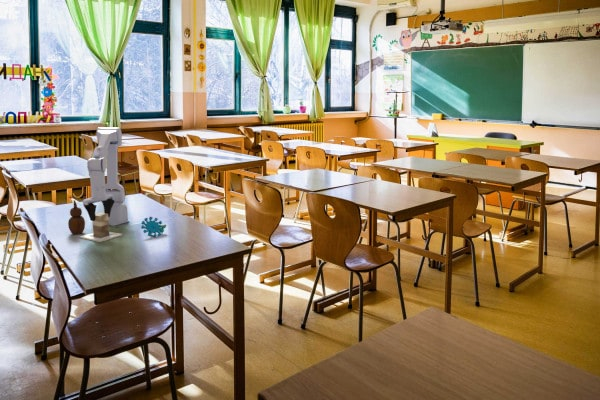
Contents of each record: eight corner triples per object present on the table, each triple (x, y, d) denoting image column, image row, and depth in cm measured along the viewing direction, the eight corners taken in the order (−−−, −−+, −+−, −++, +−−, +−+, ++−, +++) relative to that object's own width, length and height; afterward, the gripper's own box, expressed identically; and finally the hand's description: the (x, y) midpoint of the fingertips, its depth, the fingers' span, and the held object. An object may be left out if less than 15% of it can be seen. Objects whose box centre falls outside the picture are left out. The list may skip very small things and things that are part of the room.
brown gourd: (78, 235, 236) (76, 201, 233) (66, 234, 237) (64, 200, 234) (88, 231, 242) (85, 198, 239) (76, 230, 243) (73, 197, 240)
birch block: (101, 222, 236) (100, 212, 236) (108, 224, 234) (108, 213, 233) (92, 225, 233) (92, 214, 232) (100, 226, 230) (99, 216, 230)
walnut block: (102, 233, 237) (101, 222, 237) (109, 234, 235) (108, 224, 234) (93, 235, 234) (92, 225, 233) (100, 237, 231) (100, 226, 231)
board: (102, 231, 243) (102, 229, 242) (122, 235, 237) (122, 233, 237) (79, 237, 232) (79, 236, 232) (99, 242, 227) (99, 240, 226)
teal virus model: (144, 235, 231) (140, 215, 236) (139, 243, 235) (135, 223, 240) (169, 235, 237) (164, 216, 242) (164, 242, 241) (160, 223, 246)
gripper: (90, 190, 222) (92, 223, 225) (118, 185, 234) (120, 216, 237) (78, 188, 225) (80, 221, 228) (106, 183, 238) (108, 214, 241)
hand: (100, 218), depth 233 cm, fingers open, 7 cm apart
